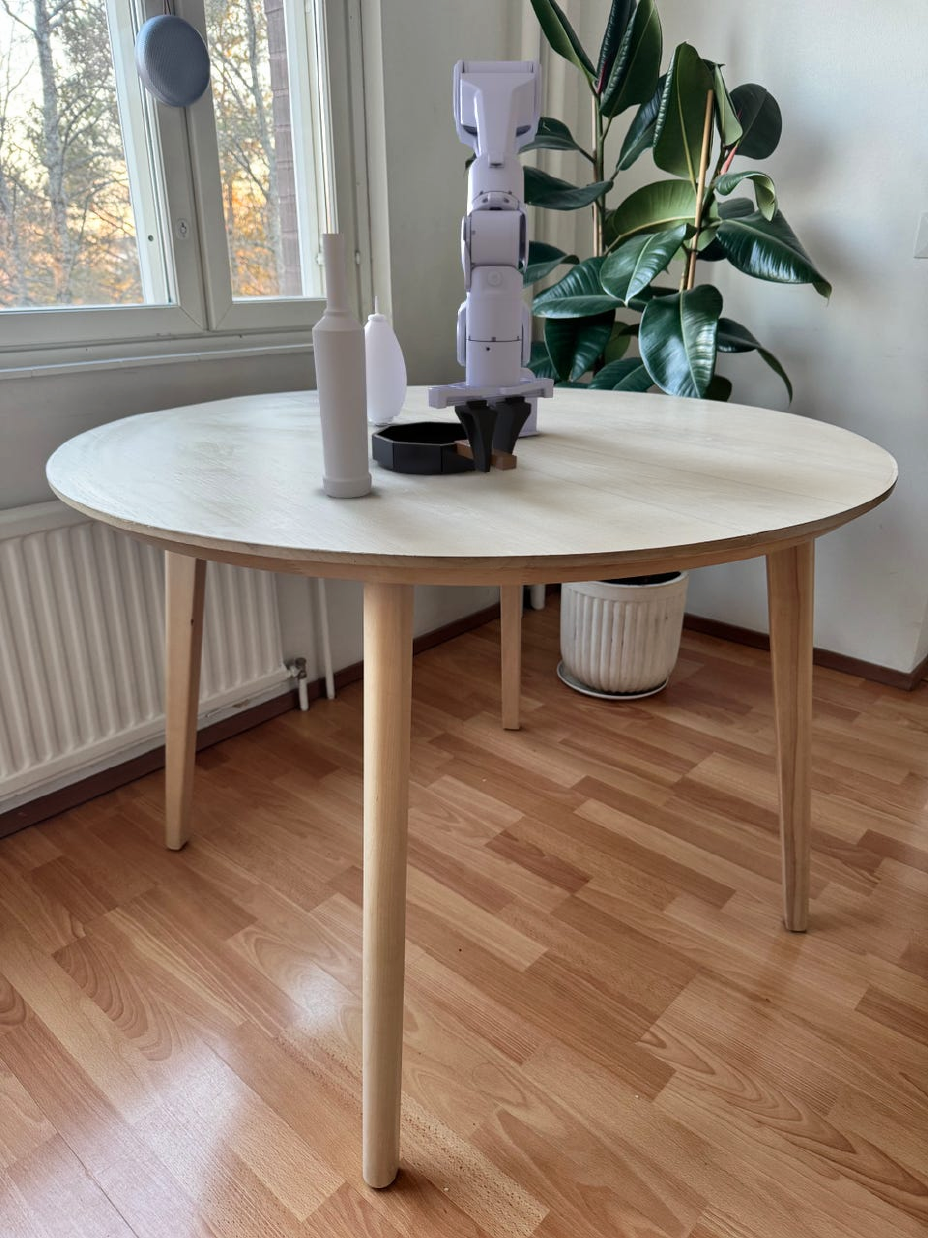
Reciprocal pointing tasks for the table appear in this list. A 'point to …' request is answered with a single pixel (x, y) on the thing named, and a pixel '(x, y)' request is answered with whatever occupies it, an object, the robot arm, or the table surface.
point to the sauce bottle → (383, 370)
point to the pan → (430, 449)
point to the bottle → (341, 383)
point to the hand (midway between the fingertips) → (491, 469)
